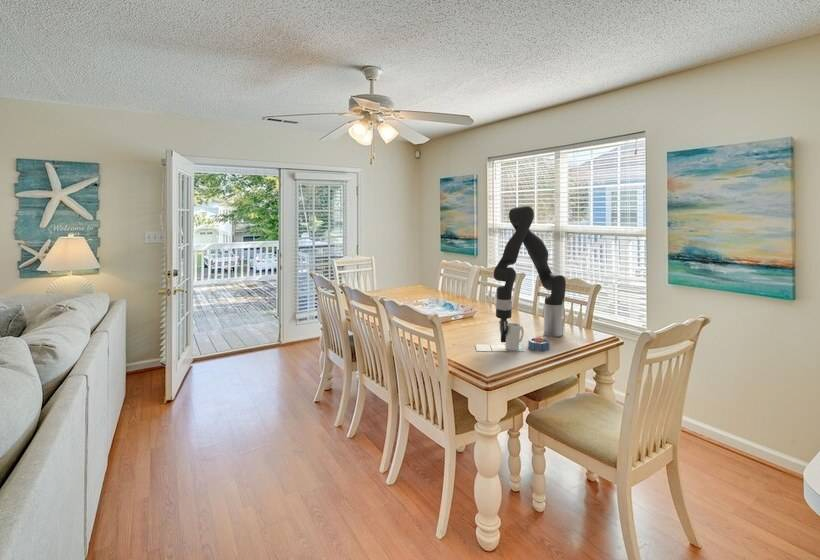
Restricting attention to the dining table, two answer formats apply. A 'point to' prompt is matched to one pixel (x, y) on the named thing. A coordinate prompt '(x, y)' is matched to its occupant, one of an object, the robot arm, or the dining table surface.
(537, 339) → the dome button
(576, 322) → the dining table surface
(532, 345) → the blue ribbed round dish
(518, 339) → the mug
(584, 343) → the dining table surface
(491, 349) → the board
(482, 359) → the dining table surface
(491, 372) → the dining table surface
